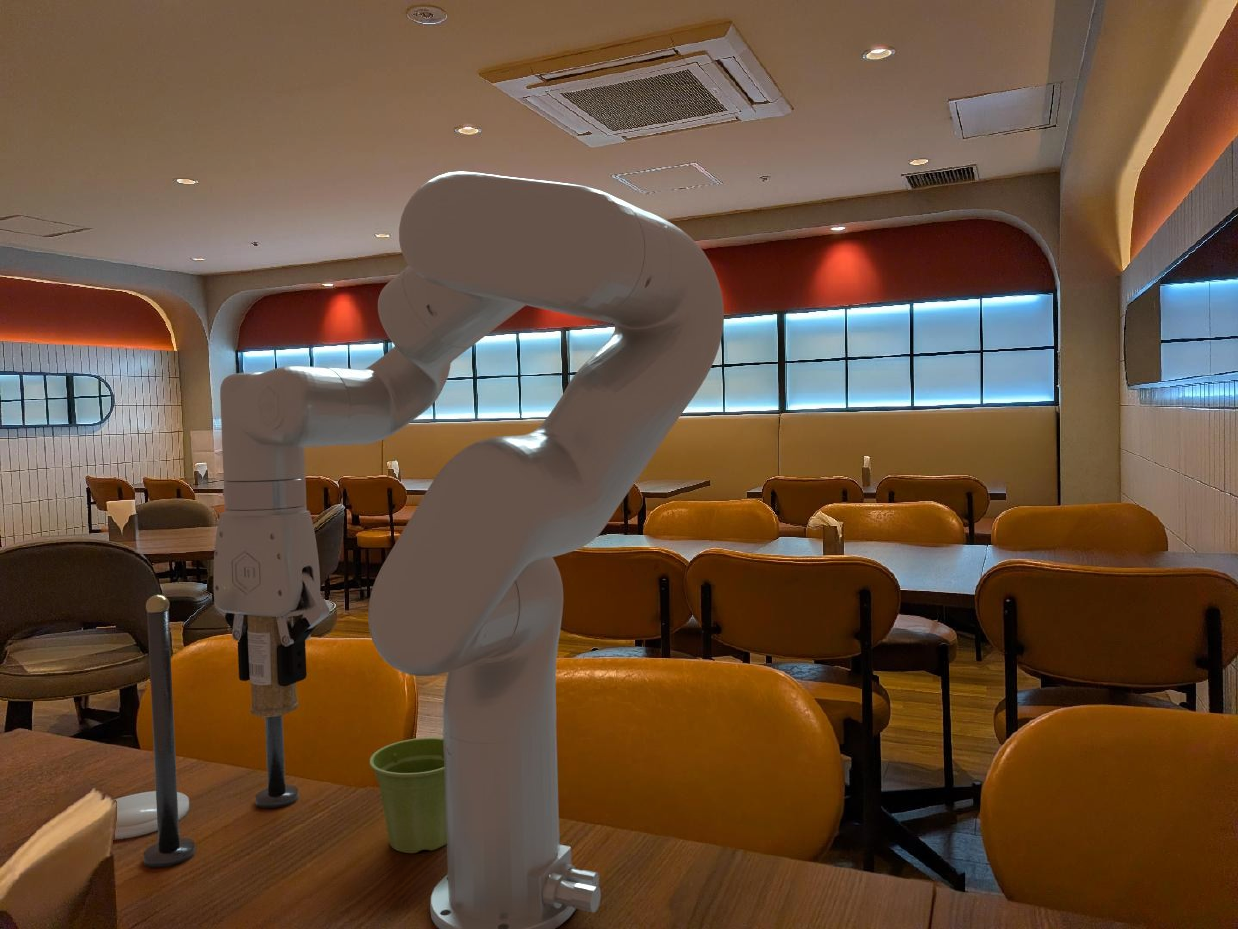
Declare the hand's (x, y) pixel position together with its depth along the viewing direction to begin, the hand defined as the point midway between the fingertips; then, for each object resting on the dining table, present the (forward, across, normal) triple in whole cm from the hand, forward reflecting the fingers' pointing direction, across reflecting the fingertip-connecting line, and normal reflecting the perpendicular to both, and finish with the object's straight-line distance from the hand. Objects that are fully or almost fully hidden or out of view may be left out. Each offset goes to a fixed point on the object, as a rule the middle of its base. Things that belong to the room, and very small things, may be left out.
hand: (272, 678), depth 86 cm
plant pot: (+17, +14, +5) cm, 22 cm away
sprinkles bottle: (+4, 0, 0) cm, 4 cm away
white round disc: (+16, -18, -2) cm, 25 cm away
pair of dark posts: (+16, -7, 0) cm, 18 cm away
